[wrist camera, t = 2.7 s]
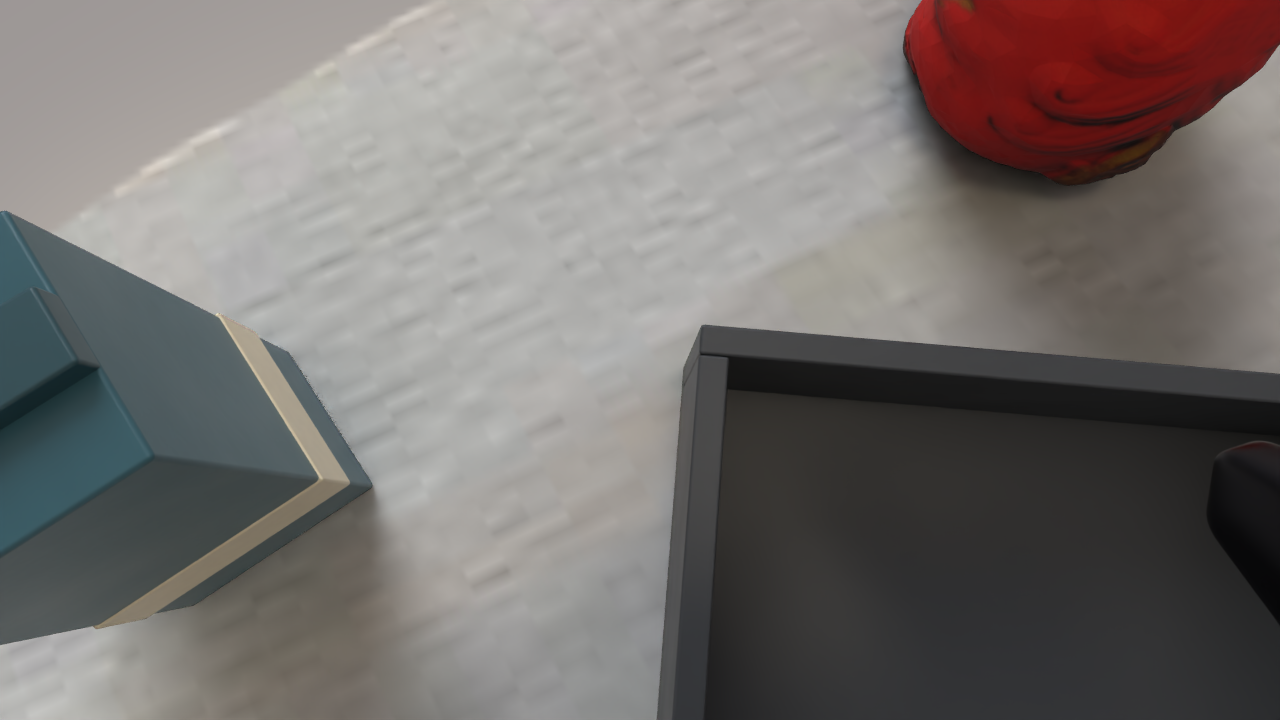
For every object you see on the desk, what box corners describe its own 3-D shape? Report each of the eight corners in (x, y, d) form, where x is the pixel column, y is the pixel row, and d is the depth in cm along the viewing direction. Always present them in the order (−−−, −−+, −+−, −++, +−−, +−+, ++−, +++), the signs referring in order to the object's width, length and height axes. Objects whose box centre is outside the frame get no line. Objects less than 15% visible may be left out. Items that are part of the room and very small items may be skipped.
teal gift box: (377, 486, 23) (141, 456, 12) (191, 610, 22) (-248, 704, 11) (288, 347, 23) (-21, 189, 12) (105, 464, 23) (-400, 412, 12)
